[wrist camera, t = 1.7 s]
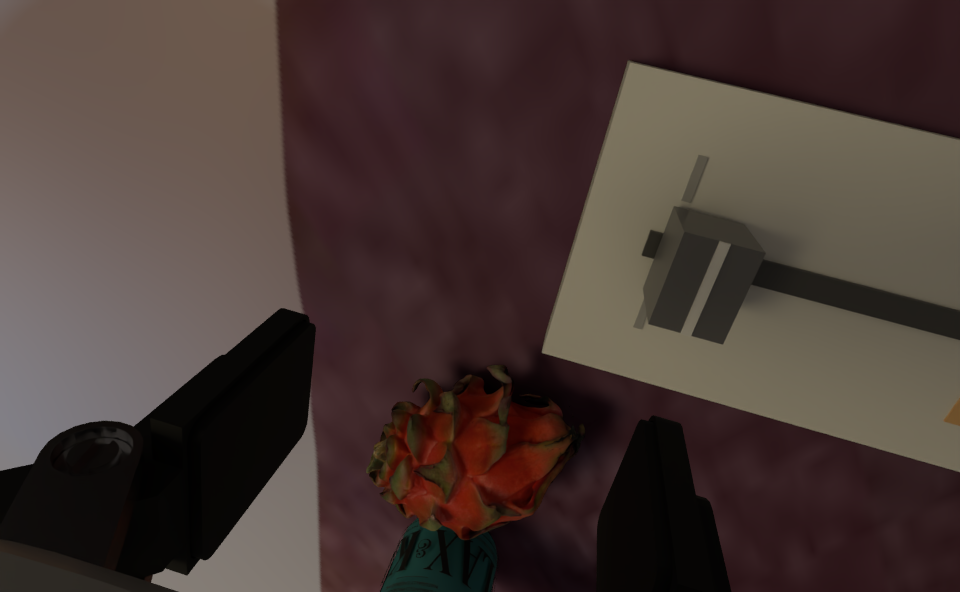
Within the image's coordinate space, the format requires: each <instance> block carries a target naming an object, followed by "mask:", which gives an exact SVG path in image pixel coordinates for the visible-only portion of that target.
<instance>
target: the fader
mask: <svg viewBox="0 0 960 592" xmlns="http://www.w3.org/2000/svg"><path fill="white" fill-rule="evenodd" d="M765 254H766V252H765V251H764V250H763V248H762V247H761V246H760V244H759V243H758V242H757V240H756V239H755V238H754V236H753V235H752V234H751V232H750V231H749V230H748V228H747V227H746V226H745V224H742V223H739V222H735V221H731V220H727V219H723V218H719V217H715V216H711V215H707V214H704V213H700V212H696V211H692V210H688V209H684V208H680V207H676V206H674V207H673V209H672V212H671V215H670V217H669V220H668V223H667V225H666V228H665V231H664V233H663V236H662V239H661V241H660V244H659V247H658V249H657V252H656V255H655V257H654V260H653V263H652V265H651V268H650V271H649V273H648V276H647V279H646V281H645V284H644V286H643V294H644V300H645V307H646V313H647V320H648V324H649V325H653V326H657V327H660V328H664V329H668V330H671V331H675V332H678V333H680V334H682V335H685V336H689V337H691V336H693V337H697V338H700V339H704V340H707V341H711V342H715V343H718V344H722V345H723V344H724V341H725V339H726V337H727V335H728V333H729V331H730V329H731V327H732V324H733V322H734V320H735V318H736V316H737V314H738V312H739V310H740V307H741V305H742V303H743V301H744V299H745V297H746V295H747V293H748V290H749V288H750V286H751V284H752V282H753V280H754V278H755V276H756V273H757V271H758V269H759V267H760V265H761V263H762V261H763V258H764V256H765Z"/></svg>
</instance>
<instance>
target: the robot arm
mask: <svg viewBox="0 0 960 592" xmlns="http://www.w3.org/2000/svg"><path fill="white" fill-rule="evenodd" d="M315 332H316V328H315V325H314V324H312V323H309V317H308V316H307V315H305V314H301V313H298V312H295V311H291V310H287V309H284V308H281V309H279V310H278V311H277V312H275V313H274V314H273V315H272V316H271V317H270V318H268V319H267V320H266V321H265V322H264V323H262V324H261V325H260V326H259V327H258V328H256V329H255V330H254V331H253V332H252V333H250V334H249V335H248V336H247V337H246V338H244V339H243V340H242V341H241V342H240V343H239V344H237V345H236V346H235V347H234V348H233V349H231V350H230V351H229V352H228V353H227V354H225V355H221V356H219V357H218V358H216V359H215V360H214V361H212V362H211V363H210V364H209V365H207V366H206V367H205V368H204V369H203V370H201V371H200V372H199V373H198V374H197V375H195V376H194V377H193V378H192V379H191V380H189V381H188V382H187V383H186V384H184V385H183V386H182V387H181V388H180V389H179V390H177V391H176V392H175V393H174V394H173V395H171V396H170V397H169V398H168V399H166V400H165V401H164V402H163V403H162V404H160V405H159V406H158V407H157V408H156V409H154V410H153V411H152V412H151V413H150V414H149V415H147V416H146V417H145V418H144V419H142V420H141V421H140V422H139V423H138V424H136V425H135V426H134V427H133V426H131V425H128V424H125V423H121V422H114V421H98V422H89V423H86V424H82V425H78V426H75V427H73V428H70V429H68V430H66V431H64V432H61V433H60V434H58V435H57V436H55V437H54V438H53V439H51V440H50V441H49V442H48V443H47V444H46V445H45V446H44V448H43V449H42V450H41V451H40V453H39V455H38V457H37V459H36V460H35V462H34V464H31V465H26V466H21V467H17V468H12V469H7V470H3V471H0V592H177V591H174V590H171V589H168V588H165V587H162V586H159V585H156V584H153V583H151V580H152V576H153V574H156V573H159V572H162V571H163V570H164V569H165V568H166V569H169V570H172V571H175V572H178V573H181V574H184V575H188V574H189V573H190V571H191V570H192V569H193V567H194V566H195V565H196V563H197V562H198V561H199V560H200V559H203V560H207V559H209V558H210V557H211V556H212V555H213V554H214V552H215V551H216V550H217V549H218V547H219V546H220V545H221V543H222V542H223V541H224V539H225V538H226V537H227V535H228V534H229V533H230V531H231V530H232V529H233V527H234V526H235V525H236V523H237V522H238V521H239V519H240V518H241V517H242V515H243V514H244V513H245V511H246V510H247V509H248V507H249V506H250V505H251V503H252V502H253V501H254V499H255V498H256V497H257V495H258V494H259V493H260V491H261V490H262V489H263V488H264V486H265V485H266V483H267V482H268V481H269V479H270V478H271V477H272V476H273V474H274V473H275V472H276V470H277V469H278V468H279V466H280V465H281V464H282V462H283V461H284V460H285V458H286V457H287V455H288V454H289V453H290V452H291V450H292V449H293V448H294V446H295V445H296V444H297V442H298V441H299V440H300V438H301V437H302V435H303V433H304V431H305V428H306V425H307V420H308V409H309V398H310V387H311V376H312V365H313V354H314V343H315ZM596 592H731V589H730V584H729V580H728V576H727V571H726V567H725V563H724V558H723V554H722V549H721V545H720V541H719V536H718V532H717V528H716V523H715V519H714V515H713V510H712V507H711V504H710V502H709V501H708V500H707V499H706V498H703V497H700V496H696V494H695V489H694V484H693V479H692V474H691V469H690V464H689V459H688V454H687V449H686V444H685V439H684V434H683V429H682V426H681V424H680V423H678V422H674V421H671V420H668V419H664V418H661V417H657V416H654V415H653V416H651V418H650V419H649V421H646V420H642V419H641V420H640V421H639V423H638V425H637V427H636V429H635V432H634V434H633V436H632V439H631V441H630V443H629V446H628V448H627V451H626V453H625V455H624V458H623V460H622V462H621V465H620V467H619V470H618V472H617V474H616V477H615V479H614V481H613V484H612V486H611V489H610V491H609V493H608V496H607V498H606V500H605V503H604V505H603V508H602V510H601V513H600V516H599V520H598V526H597V584H596Z"/></svg>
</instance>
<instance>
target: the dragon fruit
mask: <svg viewBox="0 0 960 592" xmlns="http://www.w3.org/2000/svg"><path fill="white" fill-rule="evenodd" d="M487 369H488V370H489V372H490V373H491V374H492V376H493V377H495V378H496V379H497V380H499V381H500V382H501V383H502V387H501V388H500V389H499V390H497V391H496V392H494V393H492V394H488V395H487V394H486V393H485V391H484V389H483V388H484V380H483V379H482V378H480V377H477V376H473V375H466V376H465V377H464V378H463V379H461V380H459V381H458V382H456V383H455V385H454V389H453V390H451V391H448V392H443V391H442V389H441V387H440V386H439V385H438V384H437V383H436V382H435V381H433V380H431V379H419V380H417V381H416V382H415V384H414V385H413V388H412V392H414V391H415V390H416V389H417V387H418V385H419V384H420V383H421V382H423V383H424V384H425V386H426V389H427V391H428V392H429V393H430V399H429V400H428V402H427V403H426V404H425V405H424V406H423V407H422V408H420V407H419V406H416V405H415V404H413V403H411V402H397V403H396V404H395V405H394V406H393V408H392V413H391V415H392V422H391V423H389V424H385V425H384V428H383V432H382V435H381V440H380V442H378V443H377V444H375V446H374V453H373V455H372V457H371V462H370V464H369V466H368V468H367V470H366V472H367V474H368V473H370V474H369V477H370V478H371V479H372V481H373V483H374V484H375V485H376V486H377V487H385V489H384V490H383V492H381V493H380V495H381V496H382V497H383V498H384V499H385V500H386V501H387V502H389V503H392V504H395V505H396V507H397V509H398V510H399V512H400V513H401V514H402V515H403V516H404V517H406V518H411V517H412V516H413V515H416V516H417V517H418V518H419V525H420V526H422V527H423V528H426V529H428V530H430V531H436V530H438V529H439V528H440V527H441V526H442V525H443V526H445V527H448V528H450V529H452V530H453V531H454V532H455V533H456V534H457V535H458V537H459V538H460V539H462V540H470V539H472V538H475V537H477V536H478V535H480V534H482V533H485V532H488V531H490V530H492V529H495V528H498V527H502V526H504V525H506V524H508V523H510V522H511V520H520V519H522V518H524V517H527V516H531V515H533V514H534V512H535V511H536V510H537V509H538V507H539V506H540V504H541V502H542V499H543V497H544V495H545V492H546V490H547V488H548V487H549V485H550V484H551V483H552V482H553V480H554V478H556V476H557V475H558V474H559V473H560V472H561V471H562V469H563V467H564V465H565V463H566V462H567V461H568V460H570V459H571V458H572V457H573V456H575V455H576V453H577V452H578V449H579V447H580V442H581V441H582V440H583V438H584V436H585V428H584V425H583V424H581V425H580V426H579V427H578V428H579V430H578V433H576V431H575V428H574V425H572V428H570V427H569V426H568V425H567V424H566V423H565V422H564V420H563V413H562V410H561V409H560V407H559V406H558V405H556V404H555V403H554V402H553V401H552V400H550V398H549V397H547V396H544V397H540V396H537V395H531V394H530V393H529V394H525V395H518V396H519V397H524V398H525V401H526V402H528V403H532V404H536V405H547V406H548V407H543V408H536V407H526V406H522V405H519V404H517V403H514V402H512V401H511V399H512V396H511V395H512V393H513V390H514V381H513V379H512V378H510V375H509V373H508V370H507V367H506V366H504V365H490V366H487ZM466 388H467V389H466ZM465 389H466V390H465ZM464 390H465V391H464ZM463 391H464V392H463ZM462 392H463V393H462ZM526 397H529V398H531V399H529V400H526ZM569 401H570V400H569ZM569 407H570V406H569ZM393 410H394V411H393ZM572 416H573V415H572Z"/></svg>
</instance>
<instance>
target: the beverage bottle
mask: <svg viewBox="0 0 960 592" xmlns="http://www.w3.org/2000/svg"><path fill="white" fill-rule="evenodd" d="M407 528H408V529H407V530H406V529H405V530H406V532H405V533H404V534H403V533H402V534H403V535H404V537H403V539H402V540H401V541H402V542H401V541H400V540H399V541H400V542H401V544H400V542H399V544H400V547H399V549H398V551H395V552H397V554H396V556H395V559H393V557H394V555H395V554H393V557H392V559H393V562H392V564H391V567H390V569H389V571H388V574H387V576H386V579H385V581H384V583H383V581H382V583H383V586H382V588H381V591H380V592H493V590H492V588H493V587H492V585H493V584H494V582H493V580H494V579H495V578H494V576H495V571H496V566H498V565H497V556H498V554H497V551H496V546H495V543H494V541H493V539H492V537H491V536H490V534H489V533H488V532H485V533H482V534H480V535H478V536H477V537H475V538H472V539H470V540H462V539H460V538H459V537H458V535H457V534H456V533H455V532H454V531H453V530H452V529H450V528H448V527H445V526H443V525H442V526H441V527H440V528H439V529H438V530H436V531H430V530H428V529H426V528H423V527H422V526H420V525H419V518H417V519H416V520H415V521H414V522H413V523H412V524H410V525H409V526H408V527H407ZM405 530H404V531H405ZM403 535H402V536H403ZM400 538H401V537H400ZM397 546H399V545H397ZM397 548H398V547H397ZM395 550H397V549H395ZM395 552H394V553H395ZM392 559H391V561H392ZM498 560H499V558H498ZM391 561H390V562H391ZM389 566H390V565H389ZM389 566H388V568H389ZM497 569H498V567H497ZM497 573H498V571H497ZM385 575H386V573H385ZM384 577H385V576H384ZM495 577H496V576H495ZM383 579H384V578H383ZM382 583H381V584H382ZM495 584H496V582H495ZM380 586H381V585H380ZM494 588H495V587H494ZM491 590H492V591H491Z"/></svg>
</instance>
